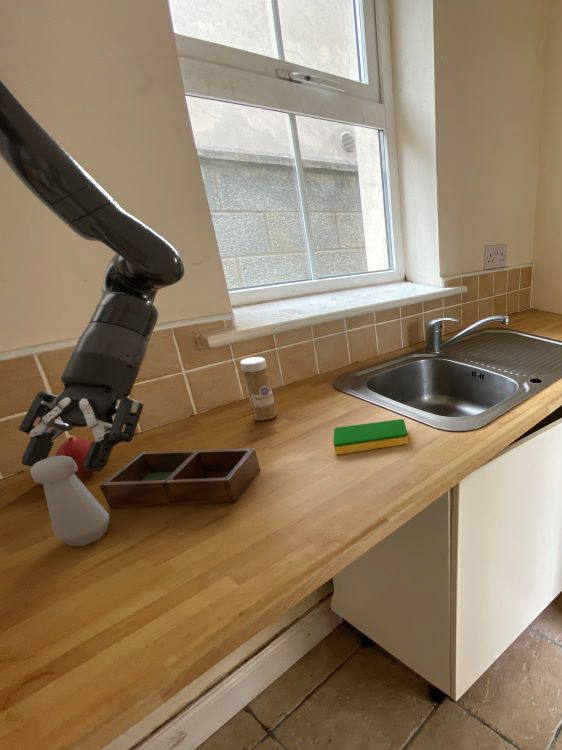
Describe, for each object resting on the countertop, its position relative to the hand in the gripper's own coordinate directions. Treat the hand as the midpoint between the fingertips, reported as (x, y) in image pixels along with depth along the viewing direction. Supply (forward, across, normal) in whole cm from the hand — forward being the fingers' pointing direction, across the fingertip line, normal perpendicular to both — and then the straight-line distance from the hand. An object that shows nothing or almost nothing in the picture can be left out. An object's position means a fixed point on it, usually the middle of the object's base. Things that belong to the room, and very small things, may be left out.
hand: (61, 468), depth 61 cm
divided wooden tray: (0, +6, +16) cm, 17 cm away
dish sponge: (-13, +30, +30) cm, 44 cm away
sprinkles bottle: (-18, +3, +35) cm, 39 cm away
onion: (-1, -14, +17) cm, 22 cm away
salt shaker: (+9, 0, +8) cm, 12 cm away
